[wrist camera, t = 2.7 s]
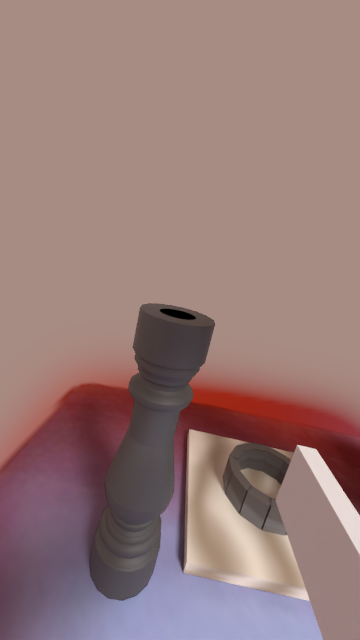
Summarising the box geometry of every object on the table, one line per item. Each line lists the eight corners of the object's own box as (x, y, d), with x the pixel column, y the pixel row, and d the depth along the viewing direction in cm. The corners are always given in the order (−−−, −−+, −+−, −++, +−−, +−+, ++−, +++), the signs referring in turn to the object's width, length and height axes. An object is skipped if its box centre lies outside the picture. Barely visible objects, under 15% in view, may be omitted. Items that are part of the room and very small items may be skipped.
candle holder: (122, 620, 21) (191, 332, 15) (75, 562, 24) (118, 303, 19) (166, 556, 26) (231, 323, 21) (123, 515, 30) (169, 301, 24)
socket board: (301, 462, 45) (310, 437, 44) (383, 617, 26) (404, 580, 24) (187, 436, 45) (194, 411, 44) (183, 572, 25) (195, 533, 24)
